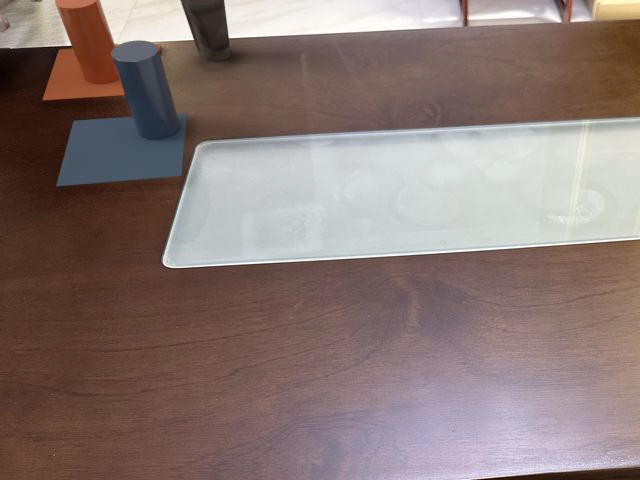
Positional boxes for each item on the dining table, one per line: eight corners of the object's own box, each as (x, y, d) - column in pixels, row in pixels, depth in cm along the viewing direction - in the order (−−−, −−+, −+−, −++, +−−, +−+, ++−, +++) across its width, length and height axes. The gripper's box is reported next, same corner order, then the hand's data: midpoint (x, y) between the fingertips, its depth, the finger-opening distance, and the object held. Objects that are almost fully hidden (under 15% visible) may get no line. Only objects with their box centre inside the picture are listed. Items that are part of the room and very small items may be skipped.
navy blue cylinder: (135, 141, 97) (108, 63, 88) (139, 118, 100) (113, 41, 92) (179, 138, 97) (156, 60, 89) (181, 115, 101) (159, 38, 93)
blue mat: (57, 190, 90) (55, 186, 90) (75, 124, 100) (73, 120, 99) (182, 179, 92) (181, 175, 92) (188, 116, 102) (186, 112, 102)
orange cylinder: (81, 85, 105) (51, 9, 97) (86, 66, 109) (58, -9, 100) (121, 82, 106) (96, 7, 98) (125, 63, 110) (100, -11, 101)
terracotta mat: (43, 103, 103) (42, 100, 102) (60, 52, 112) (58, 49, 112) (154, 96, 105) (153, 93, 105) (161, 47, 115) (160, 43, 114)
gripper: (-13, -8, 112) (71, -1, 110) (-100, 56, 98) (-6, 64, 97) (-34, -52, 107) (54, -45, 106) (-128, 9, 94) (-30, 17, 92)
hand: (24, 8), depth 101 cm, fingers open, 8 cm apart
